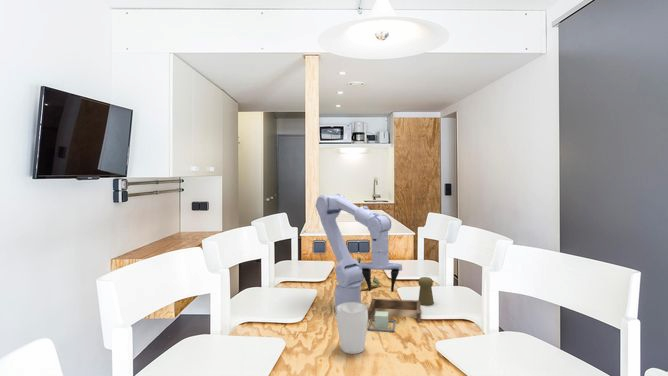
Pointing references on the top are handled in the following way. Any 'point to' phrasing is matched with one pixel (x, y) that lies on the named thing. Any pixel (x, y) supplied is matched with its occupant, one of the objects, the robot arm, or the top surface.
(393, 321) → the gray square frame
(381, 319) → the sage block
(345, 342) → the cup
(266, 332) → the top surface
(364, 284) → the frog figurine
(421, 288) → the cork
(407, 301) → the brown wooden box
